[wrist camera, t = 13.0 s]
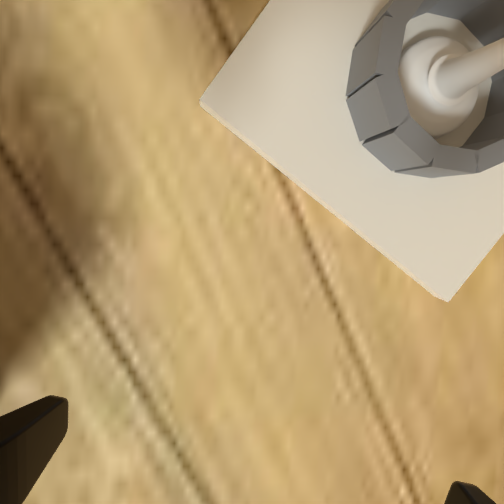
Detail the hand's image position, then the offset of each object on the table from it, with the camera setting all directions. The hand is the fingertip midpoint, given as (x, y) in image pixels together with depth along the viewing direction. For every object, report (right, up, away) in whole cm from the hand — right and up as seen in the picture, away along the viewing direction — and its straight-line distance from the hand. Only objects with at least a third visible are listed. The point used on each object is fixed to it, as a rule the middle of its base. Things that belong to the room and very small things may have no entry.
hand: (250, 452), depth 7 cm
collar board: (+9, +13, +11) cm, 19 cm away
